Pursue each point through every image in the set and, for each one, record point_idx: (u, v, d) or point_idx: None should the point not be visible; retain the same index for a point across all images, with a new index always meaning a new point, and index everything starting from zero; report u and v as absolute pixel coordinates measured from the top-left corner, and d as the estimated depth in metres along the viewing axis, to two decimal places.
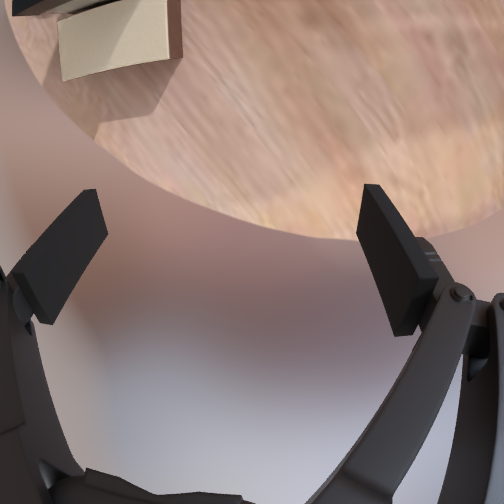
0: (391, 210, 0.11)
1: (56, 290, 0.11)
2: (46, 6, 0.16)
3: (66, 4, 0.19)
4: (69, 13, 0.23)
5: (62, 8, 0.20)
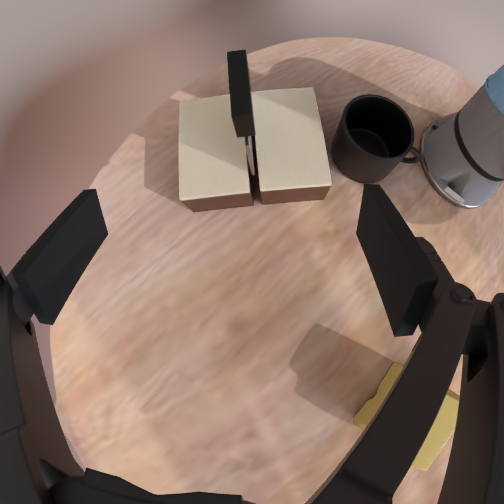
0: (391, 210, 0.11)
1: (56, 290, 0.11)
2: None
3: None
4: None
5: None
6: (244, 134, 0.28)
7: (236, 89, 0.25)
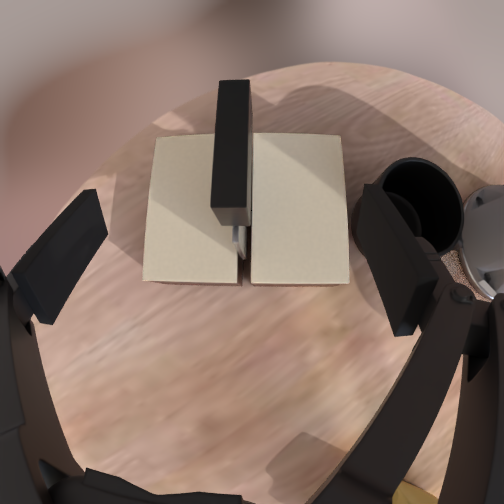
0: (391, 210, 0.11)
1: (56, 290, 0.11)
2: None
3: None
4: None
5: None
6: (232, 224, 0.19)
7: (225, 152, 0.16)
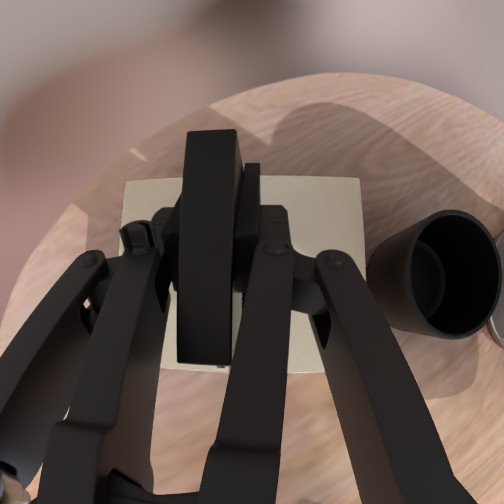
0: (252, 182, 0.14)
1: None
2: None
3: None
4: None
5: None
6: None
7: (195, 271, 0.10)
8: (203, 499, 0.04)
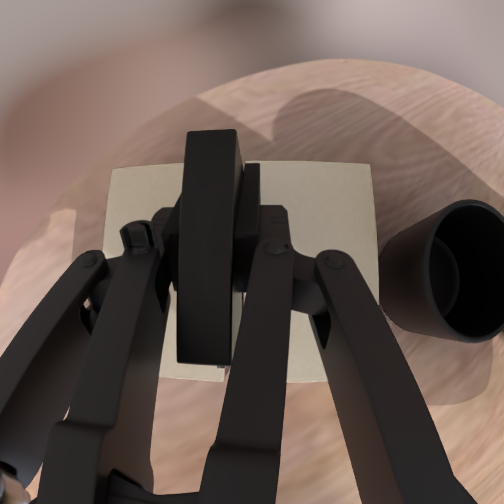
0: (252, 182, 0.14)
1: None
2: None
3: None
4: None
5: None
6: None
7: (195, 271, 0.10)
8: (203, 499, 0.04)
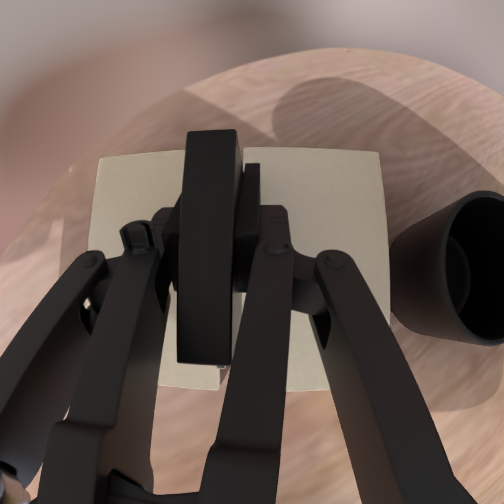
0: (252, 182, 0.14)
1: None
2: None
3: None
4: None
5: None
6: None
7: (195, 271, 0.10)
8: (203, 499, 0.04)
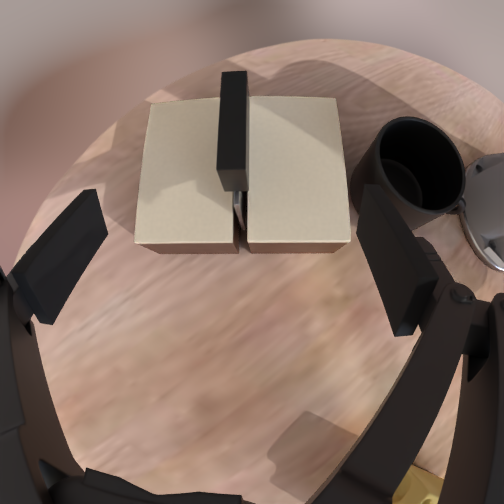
0: (391, 210, 0.11)
1: (56, 290, 0.11)
2: None
3: None
4: None
5: None
6: (234, 189, 0.22)
7: (227, 127, 0.19)
8: None
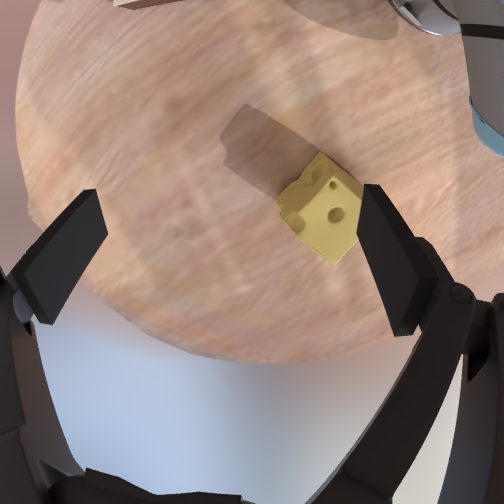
0: (391, 210, 0.11)
1: (56, 290, 0.11)
2: None
3: None
4: None
5: None
6: None
7: None
8: None
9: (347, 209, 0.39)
